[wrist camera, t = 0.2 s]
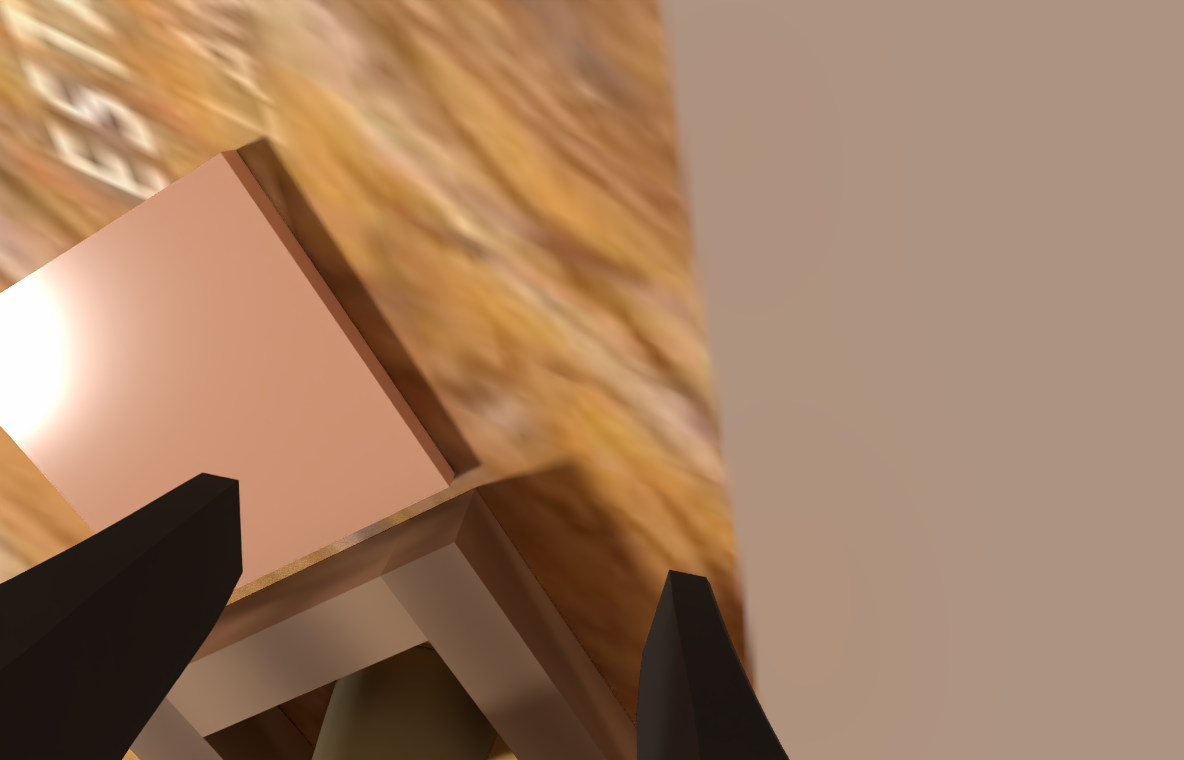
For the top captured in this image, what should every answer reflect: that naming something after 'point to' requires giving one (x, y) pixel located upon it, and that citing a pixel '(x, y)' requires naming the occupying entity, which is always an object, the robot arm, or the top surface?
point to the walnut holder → (396, 647)
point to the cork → (404, 713)
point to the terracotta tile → (208, 375)
